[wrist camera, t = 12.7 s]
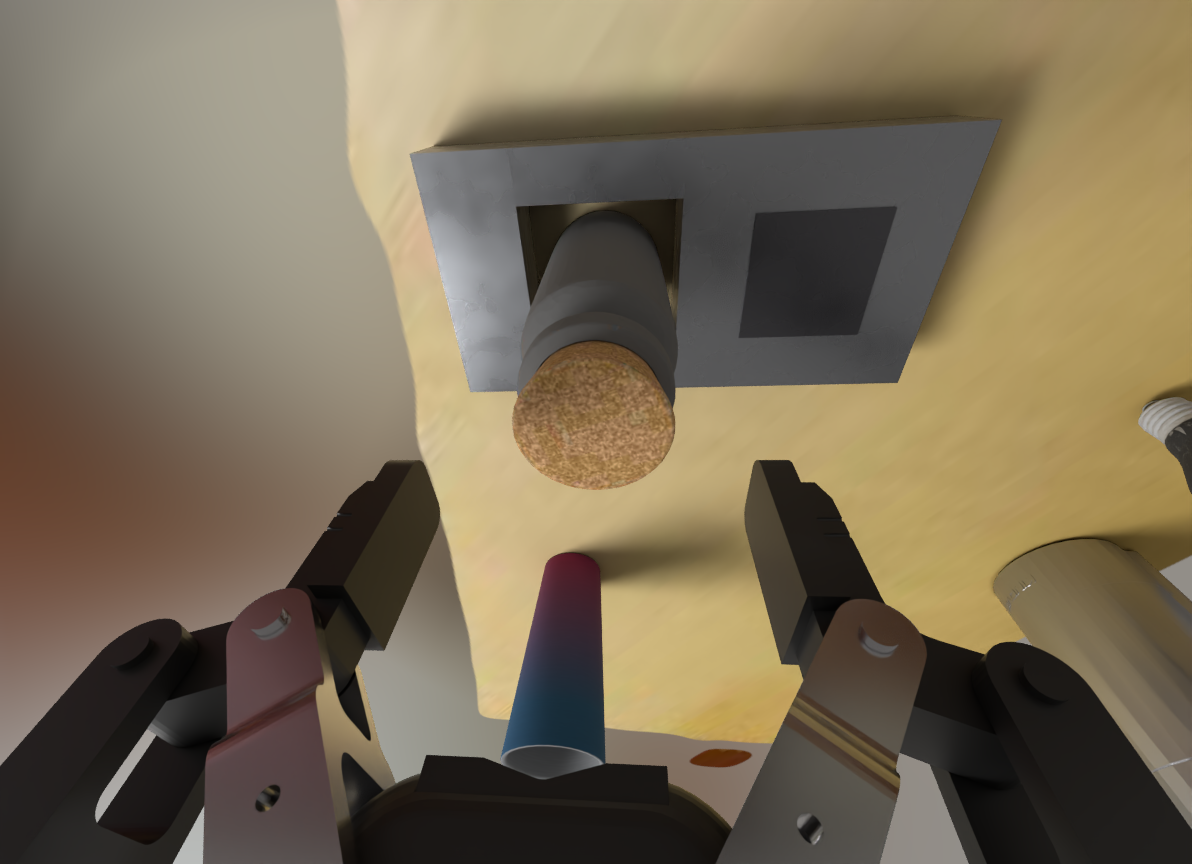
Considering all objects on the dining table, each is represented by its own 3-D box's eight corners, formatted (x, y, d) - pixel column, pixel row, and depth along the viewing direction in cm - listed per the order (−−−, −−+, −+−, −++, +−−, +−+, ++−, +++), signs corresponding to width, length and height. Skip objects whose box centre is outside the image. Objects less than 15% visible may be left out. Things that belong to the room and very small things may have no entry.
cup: (617, 588, 43) (615, 782, 31) (548, 595, 44) (520, 785, 32) (600, 541, 39) (590, 743, 27) (524, 551, 40) (484, 747, 28)
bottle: (658, 315, 27) (690, 502, 15) (558, 319, 27) (510, 505, 15) (660, 205, 23) (704, 334, 11) (545, 212, 24) (470, 343, 12)
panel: (957, 115, 20) (1003, 119, 18) (873, 356, 28) (898, 383, 25) (432, 146, 22) (408, 154, 20) (482, 366, 29) (470, 392, 27)
